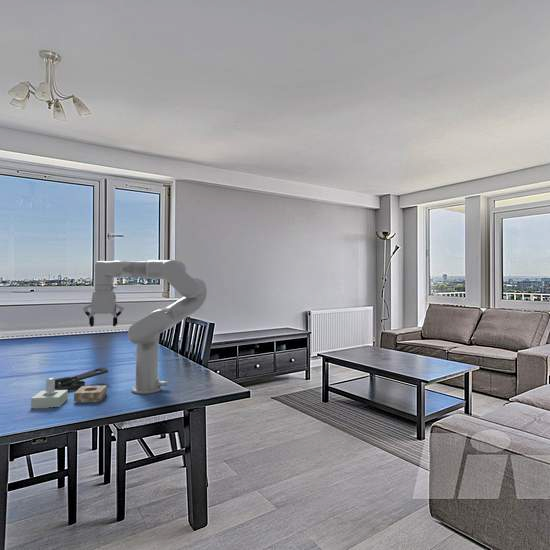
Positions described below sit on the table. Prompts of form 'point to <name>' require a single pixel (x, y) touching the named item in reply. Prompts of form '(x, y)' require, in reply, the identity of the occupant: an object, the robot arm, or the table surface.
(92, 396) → the birch mount block
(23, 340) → the table surface
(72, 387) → the zipper pull
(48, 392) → the metal pin
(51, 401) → the sage socket block
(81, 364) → the table surface
